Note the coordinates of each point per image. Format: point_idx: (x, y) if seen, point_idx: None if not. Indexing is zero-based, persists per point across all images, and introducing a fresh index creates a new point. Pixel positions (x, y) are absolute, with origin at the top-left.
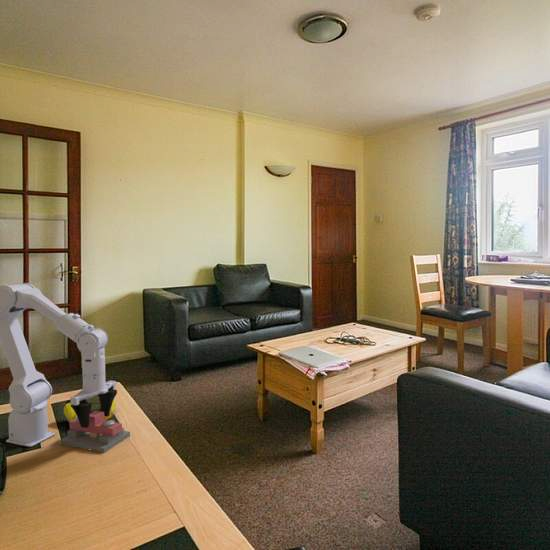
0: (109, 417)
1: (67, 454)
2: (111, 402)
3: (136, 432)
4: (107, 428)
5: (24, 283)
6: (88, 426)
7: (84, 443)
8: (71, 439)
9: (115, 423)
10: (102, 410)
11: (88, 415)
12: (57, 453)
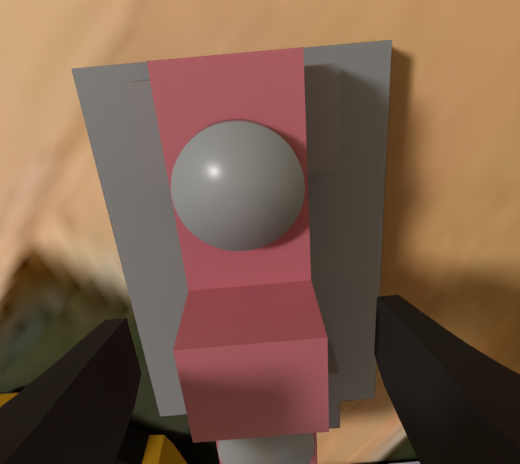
0: (10, 396)
1: (454, 258)
2: (7, 418)
3: (13, 67)
4: (305, 125)
5: None
6: (378, 298)
7: (368, 246)
8: (349, 354)
9: (181, 134)
10: (123, 410)
11: (457, 365)
12: (455, 314)
